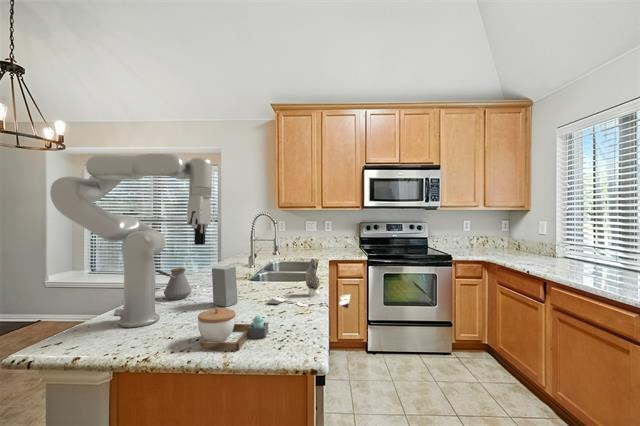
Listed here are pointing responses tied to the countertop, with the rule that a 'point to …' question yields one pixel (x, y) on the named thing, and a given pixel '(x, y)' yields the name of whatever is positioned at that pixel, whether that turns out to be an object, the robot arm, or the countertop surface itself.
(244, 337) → the walnut bay
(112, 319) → the countertop surface
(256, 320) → the dome
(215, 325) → the lidded jar
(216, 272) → the skincare box
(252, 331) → the dark grey open box
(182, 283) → the coffee pot
